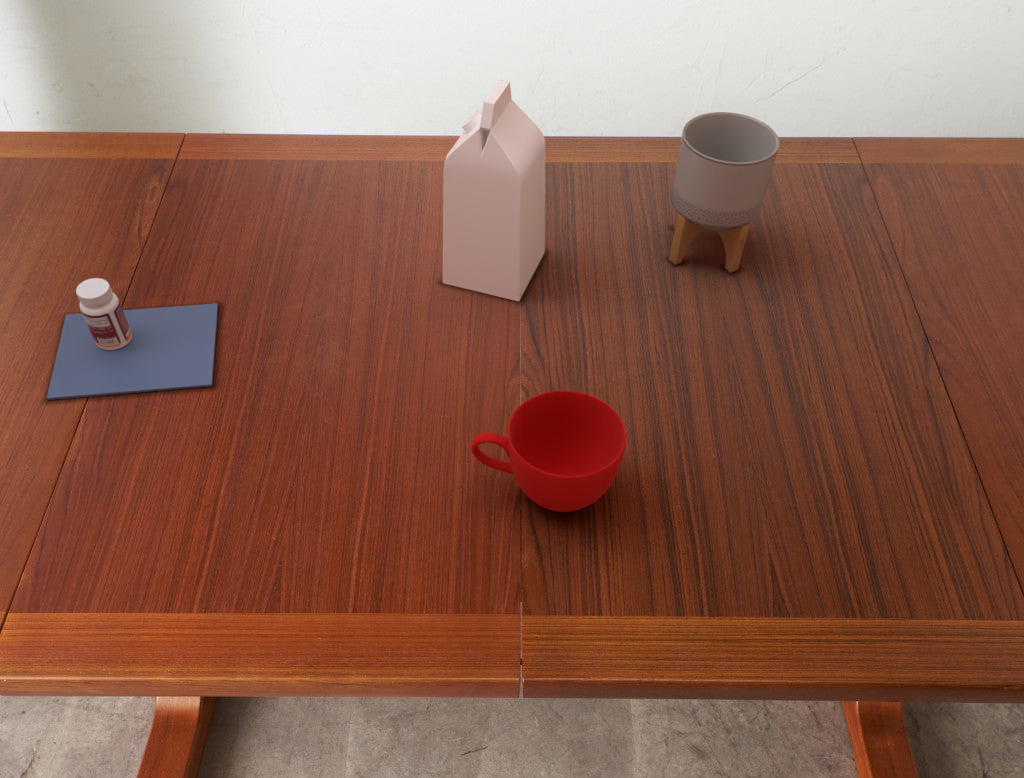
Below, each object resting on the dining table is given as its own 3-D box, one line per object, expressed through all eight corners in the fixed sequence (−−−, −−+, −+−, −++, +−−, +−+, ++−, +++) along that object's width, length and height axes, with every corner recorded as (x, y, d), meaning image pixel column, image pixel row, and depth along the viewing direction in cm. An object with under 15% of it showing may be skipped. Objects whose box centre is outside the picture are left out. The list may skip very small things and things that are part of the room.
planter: (766, 256, 134) (799, 145, 120) (701, 286, 129) (728, 173, 115) (707, 213, 140) (733, 102, 126) (644, 240, 136) (662, 128, 122)
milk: (518, 301, 126) (526, 124, 105) (442, 283, 128) (435, 106, 108) (544, 252, 133) (556, 78, 113) (471, 235, 135) (470, 61, 115)
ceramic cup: (475, 445, 109) (474, 385, 101) (613, 451, 109) (624, 392, 101) (468, 530, 101) (467, 473, 93) (618, 536, 101) (629, 480, 93)
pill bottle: (116, 322, 120) (95, 270, 114) (140, 337, 119) (120, 285, 112) (87, 341, 118) (64, 289, 111) (111, 356, 116) (89, 305, 110)
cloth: (47, 400, 112) (46, 398, 111) (66, 316, 121) (65, 314, 121) (212, 386, 114) (211, 384, 114) (218, 305, 124) (217, 303, 123)
